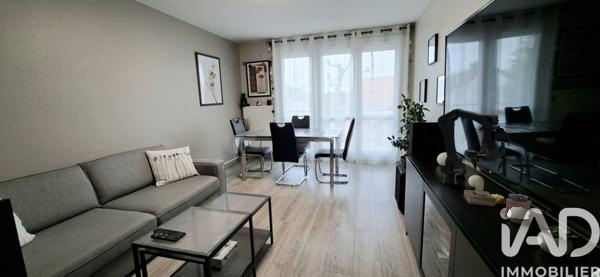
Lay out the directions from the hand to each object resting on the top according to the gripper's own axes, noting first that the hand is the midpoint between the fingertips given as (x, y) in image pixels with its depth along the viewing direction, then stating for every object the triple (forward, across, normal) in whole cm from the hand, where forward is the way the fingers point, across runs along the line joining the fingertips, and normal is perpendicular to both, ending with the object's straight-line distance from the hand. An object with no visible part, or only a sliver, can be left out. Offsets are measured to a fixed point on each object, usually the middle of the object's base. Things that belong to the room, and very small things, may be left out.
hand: (486, 171), depth 126 cm
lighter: (+13, +4, -24) cm, 27 cm away
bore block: (+12, -5, -9) cm, 16 cm away
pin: (+12, -5, -9) cm, 15 cm away
